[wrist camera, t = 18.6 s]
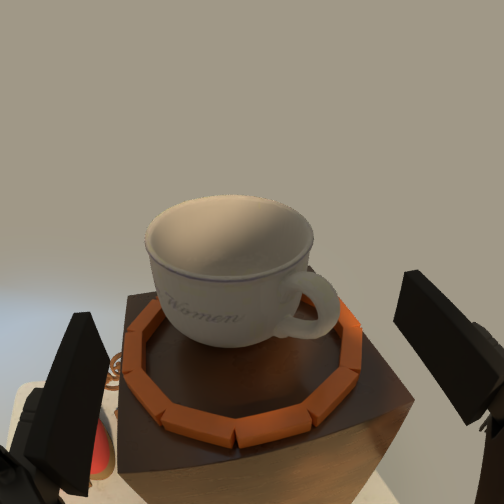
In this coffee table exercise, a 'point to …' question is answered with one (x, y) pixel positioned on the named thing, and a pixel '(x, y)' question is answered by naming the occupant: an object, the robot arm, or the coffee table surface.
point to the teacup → (237, 271)
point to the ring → (249, 427)
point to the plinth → (251, 403)
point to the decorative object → (102, 455)
